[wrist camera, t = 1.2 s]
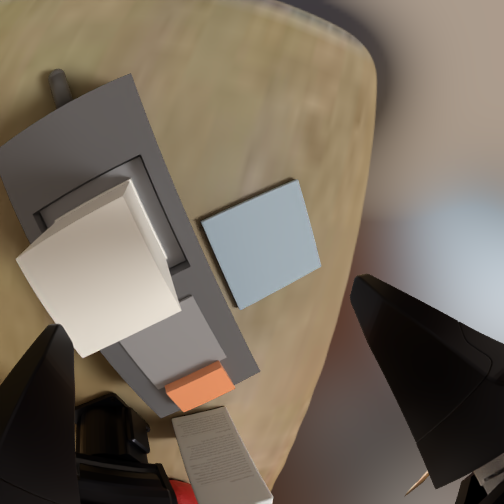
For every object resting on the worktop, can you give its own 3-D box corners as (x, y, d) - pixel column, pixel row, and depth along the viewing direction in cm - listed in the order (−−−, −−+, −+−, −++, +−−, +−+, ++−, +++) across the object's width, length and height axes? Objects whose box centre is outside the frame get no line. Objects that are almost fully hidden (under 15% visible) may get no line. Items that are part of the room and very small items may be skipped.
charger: (96, 289, 16) (82, 360, 10) (57, 217, 14) (12, 258, 8) (166, 254, 17) (184, 311, 11) (131, 177, 15) (124, 191, 9)
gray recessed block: (154, 384, 23) (162, 427, 19) (5, 106, 12) (-29, 95, 8) (242, 342, 25) (265, 379, 21) (116, 44, 14) (112, 11, 10)
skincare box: (178, 438, 27) (209, 529, 16) (170, 417, 25) (201, 517, 15) (230, 426, 29) (272, 511, 18) (227, 404, 27) (274, 497, 17)
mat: (238, 307, 24) (240, 310, 24) (200, 221, 20) (201, 222, 20) (318, 264, 26) (321, 266, 25) (295, 179, 22) (298, 179, 22)
